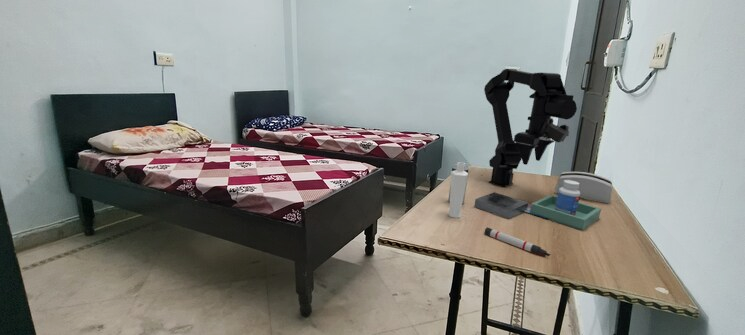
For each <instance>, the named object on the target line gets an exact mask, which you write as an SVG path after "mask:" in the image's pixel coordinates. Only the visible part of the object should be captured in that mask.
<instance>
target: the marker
mask: <svg viewBox="0 0 745 335" xmlns="http://www.w3.org/2000/svg"><path fill="white" fill-rule="evenodd" d="M485 235H486V236H489V237H490V238H493V239H495V240H498V241H501V242H503V243H506V244H509V245H510V246H514V247H516V248H517V249H518V248H519V249H521V250H524V251H525V252H528V253H531V254H534V255H536V256H543V257H546V256H547V257H550V256H551V254H550V253H548V252H547V250H545V249H543V248H542V247H541V246H540V245H539V246H538V245H536V244H533V243H531V242H528V241H525V240H523V239H521V238H520V239H519V238H517V237H515V236H513V235H509V234H507V233H505V232H502V231H499V230H497V229H493V228H490V227H486V228H485V230H484V236H485Z"/></svg>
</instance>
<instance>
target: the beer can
mask: <svg viewBox="0 0 745 335" xmlns="http://www.w3.org/2000/svg"><path fill="white" fill-rule="evenodd" d="M457 163H458V162H456V163H454V164H453V165H452V167H451V168H452V169H451V172H452V171H455V170H457ZM468 166H469V165H468V164H466V163H465V165H464V171H466V172H467V173H468V174H469V167H468ZM467 183H468V182H467ZM467 183H466V186H467ZM450 187H451V181H450V184H449V188H450ZM448 191H449V194H448V202H450V190H448ZM466 191H467V187H466V188H465V193H464V198H463V202H462V204H464V203H465V199H466Z"/></svg>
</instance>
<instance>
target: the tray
mask: <svg viewBox="0 0 745 335" xmlns="http://www.w3.org/2000/svg"><path fill="white" fill-rule="evenodd" d="M557 197H558V195H554V194H549V195H548V196H545V197H543V198H541V199H539V200H538V199H537V201H535V202H532V203H531V205H530V206H531V209H530V213H533V214H536V215H539V216H542V217H545V218H548V219H549V220H548V221H552V222H555V223H558V224H561V225H565V226H568V227H569V228H574V229H576V230H580V231H584V230H585V229H586V228H588V227H589V226H591V225H592V224H593V223H594V222H597V221H598V219H600V216H601V215H600V214H601V211H602V208H601V207H597V206H593V205H590V204H587V203H582V202H580V201H578V206H577V210H576V214H575V216H574V215H571V214H567V213H564V212H561V211H557V210H555V206H556V202H557Z"/></svg>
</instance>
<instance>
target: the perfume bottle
mask: <svg viewBox="0 0 745 335" xmlns="http://www.w3.org/2000/svg"><path fill="white" fill-rule="evenodd" d="M456 163H457V170H455V171H452V170H451V171H450V182H451V187H450V186H449V191H450V201H449V209H448V212H447V215H448V216H449V217H450V218H457V219H458V218H459V219H460V218H461V217H462V207H463V203H462V202H463V198H464V193H465V194H466V192H465V188H466V189H467V185H466V183H468V177H469V172H468V173H467V172H466V171H464V165H465V164H466V163H465V162H460V161H459V162H456Z"/></svg>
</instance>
